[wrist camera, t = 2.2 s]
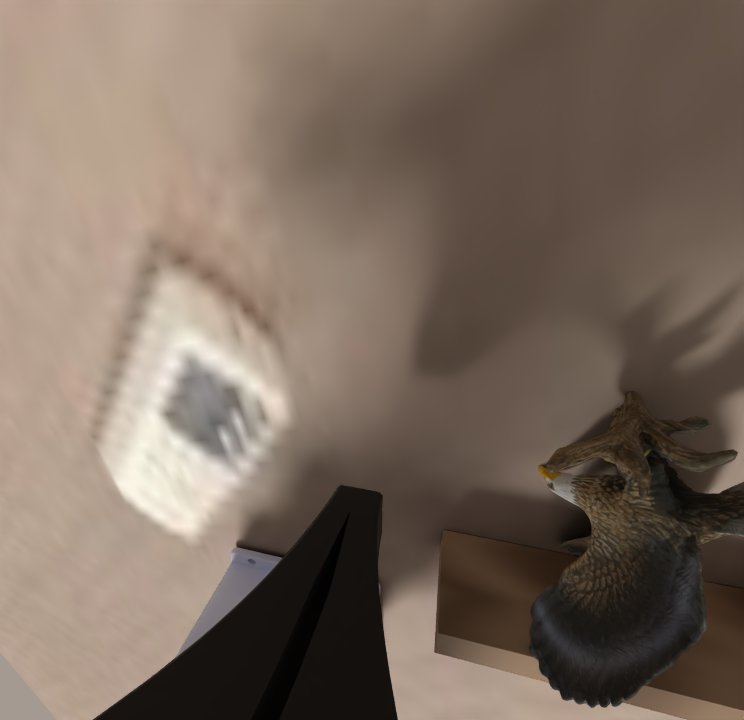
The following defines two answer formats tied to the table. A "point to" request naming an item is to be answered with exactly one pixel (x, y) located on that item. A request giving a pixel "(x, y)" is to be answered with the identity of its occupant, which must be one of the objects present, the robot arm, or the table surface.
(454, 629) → the walnut corner bracket
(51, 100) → the table surface
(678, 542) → the eagle figurine
